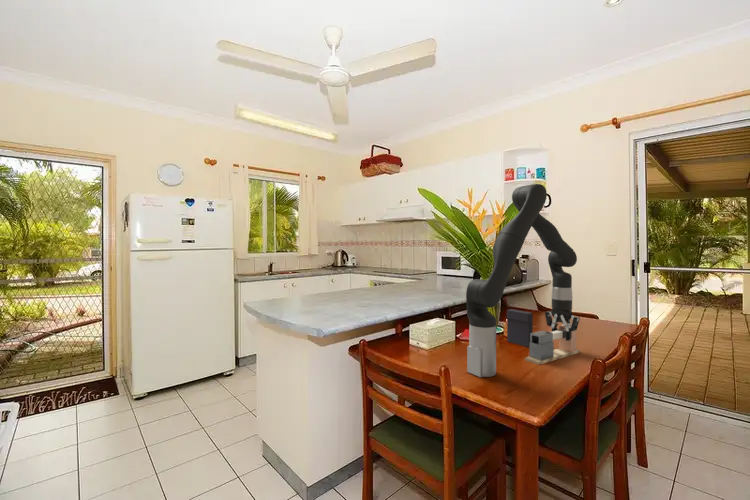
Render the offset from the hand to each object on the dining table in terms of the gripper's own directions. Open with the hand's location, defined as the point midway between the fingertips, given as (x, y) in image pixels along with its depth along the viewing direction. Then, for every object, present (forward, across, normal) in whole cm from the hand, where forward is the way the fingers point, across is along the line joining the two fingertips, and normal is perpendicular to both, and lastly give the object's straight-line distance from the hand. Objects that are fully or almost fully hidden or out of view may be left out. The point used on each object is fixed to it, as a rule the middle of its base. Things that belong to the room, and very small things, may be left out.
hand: (561, 338), depth 145 cm
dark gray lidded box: (+7, -18, -2) cm, 19 cm away
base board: (+6, 0, -6) cm, 8 cm away
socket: (+6, 0, +4) cm, 8 cm away
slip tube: (-1, 0, -3) cm, 3 cm away
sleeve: (+6, 0, -14) cm, 15 cm away
